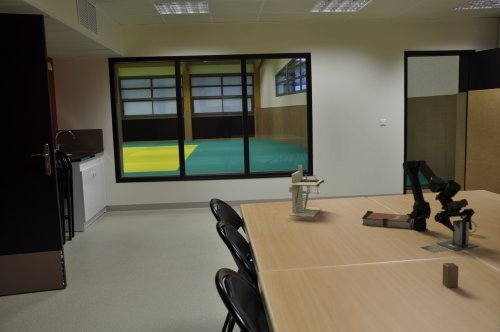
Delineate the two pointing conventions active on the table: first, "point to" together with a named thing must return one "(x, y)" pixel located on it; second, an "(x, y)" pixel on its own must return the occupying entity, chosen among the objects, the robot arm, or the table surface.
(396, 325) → the table surface
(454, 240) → the grey clip
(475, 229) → the ring
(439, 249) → the grey square plate
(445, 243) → the rail plate
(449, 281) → the wooden block
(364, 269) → the table surface
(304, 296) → the table surface
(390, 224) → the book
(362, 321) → the table surface
